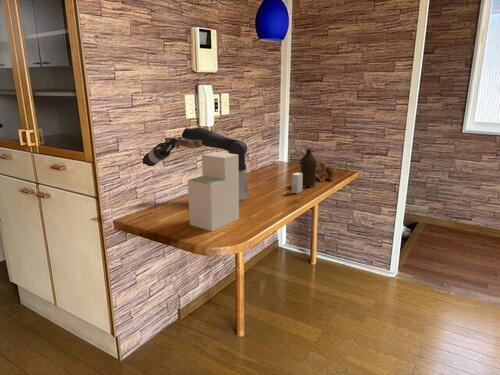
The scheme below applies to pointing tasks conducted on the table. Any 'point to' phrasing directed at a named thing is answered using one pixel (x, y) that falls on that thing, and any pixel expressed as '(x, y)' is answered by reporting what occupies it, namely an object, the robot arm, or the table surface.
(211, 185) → the stepped stand
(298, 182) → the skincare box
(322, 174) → the stuffed squirrel
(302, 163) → the olive oil
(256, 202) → the table surface
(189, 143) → the walnut T-handle
